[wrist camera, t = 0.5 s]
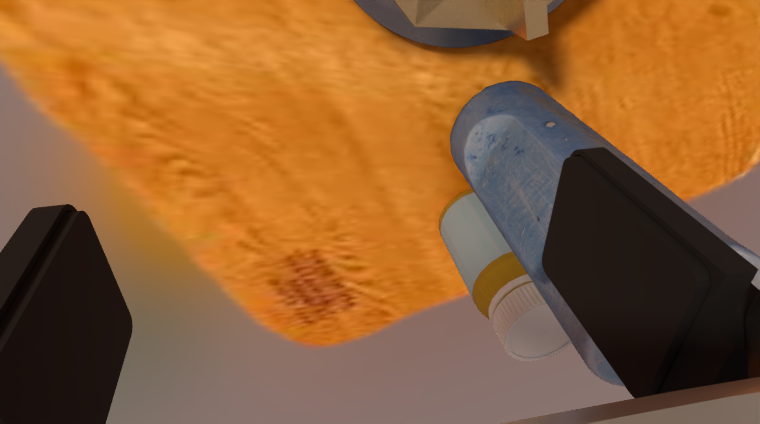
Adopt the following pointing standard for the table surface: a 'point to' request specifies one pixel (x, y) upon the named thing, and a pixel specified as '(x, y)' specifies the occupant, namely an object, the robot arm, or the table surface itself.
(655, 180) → the bottle
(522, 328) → the bottle
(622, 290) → the robot arm
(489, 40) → the hub
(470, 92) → the table surface
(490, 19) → the wooden castle nut
